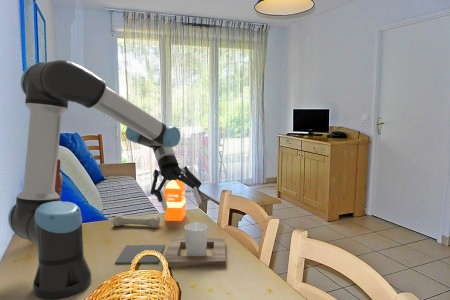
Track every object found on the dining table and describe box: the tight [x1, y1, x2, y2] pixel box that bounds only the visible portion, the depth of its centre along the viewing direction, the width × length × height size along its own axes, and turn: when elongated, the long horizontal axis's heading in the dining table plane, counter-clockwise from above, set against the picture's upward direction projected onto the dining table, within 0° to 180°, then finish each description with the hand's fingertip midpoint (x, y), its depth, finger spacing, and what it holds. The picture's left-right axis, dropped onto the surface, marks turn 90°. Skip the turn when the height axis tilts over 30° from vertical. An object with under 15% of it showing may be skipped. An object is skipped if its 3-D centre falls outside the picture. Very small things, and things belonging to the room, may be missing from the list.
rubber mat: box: [114, 244, 165, 265], centre depth 121 cm, size 14×14×1 cm
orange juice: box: [163, 179, 187, 222], centre depth 159 cm, size 8×9×20 cm
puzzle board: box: [164, 236, 227, 269], centre depth 121 cm, size 20×20×2 cm
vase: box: [55, 158, 64, 201], centre depth 143 cm, size 10×7×30 cm
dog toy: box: [112, 213, 161, 229], centre depth 150 cm, size 20×6×5 cm, turn 84°
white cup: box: [183, 222, 208, 256], centre depth 121 cm, size 8×8×10 cm
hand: (183, 205), depth 128 cm, fingers open, 13 cm apart
